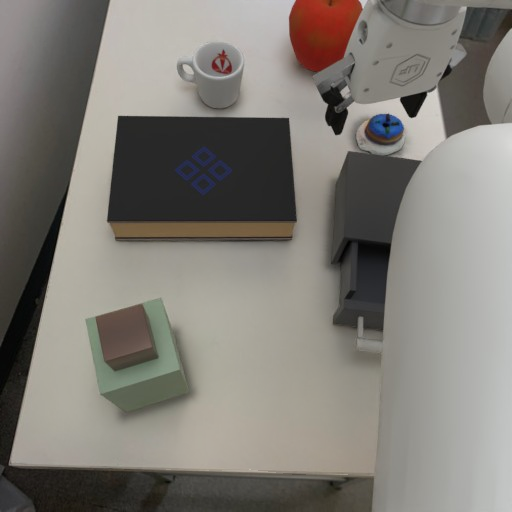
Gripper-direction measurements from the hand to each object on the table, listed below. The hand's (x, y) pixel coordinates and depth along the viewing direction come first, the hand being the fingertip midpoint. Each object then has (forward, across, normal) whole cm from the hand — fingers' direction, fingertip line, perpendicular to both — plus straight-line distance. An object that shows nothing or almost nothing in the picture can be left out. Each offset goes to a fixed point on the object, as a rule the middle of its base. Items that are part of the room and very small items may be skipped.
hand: (370, 117), depth 59 cm
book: (+18, -19, +7) cm, 28 cm away
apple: (+18, +7, +27) cm, 33 cm away
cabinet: (+18, +3, -6) cm, 20 cm away
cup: (+18, -13, +25) cm, 34 cm away
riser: (+18, -33, -18) cm, 42 cm away
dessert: (+18, +11, +9) cm, 23 cm away
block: (+4, -33, -18) cm, 38 cm away
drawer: (+17, -2, -17) cm, 25 cm away
